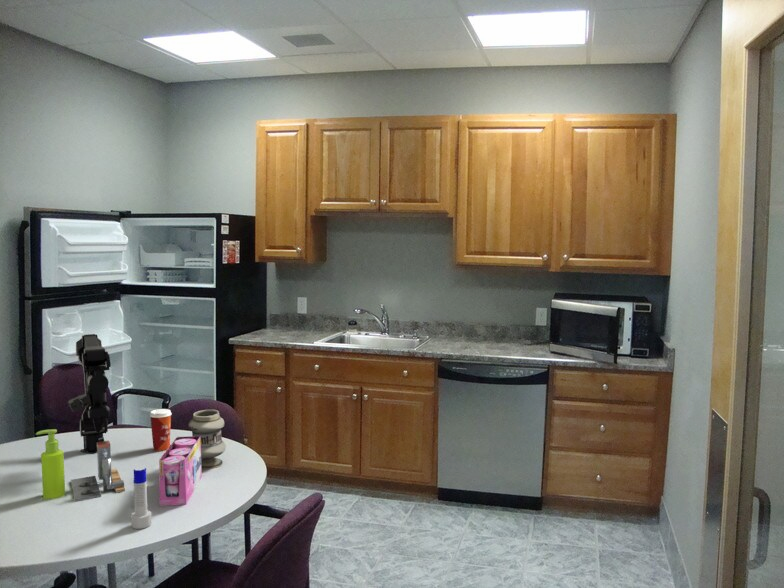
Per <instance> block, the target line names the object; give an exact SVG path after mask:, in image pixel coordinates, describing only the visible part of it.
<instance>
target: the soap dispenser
mask: <svg viewBox="0 0 784 588" xmlns="http://www.w3.org/2000/svg"><path fill="white" fill-rule="evenodd" d="M57 432H58V429H56V428H54V429H42V430H39V431H37V432H36V433H35V435H36V436H40V435H44V434H47V435H48V437H47V438H48V440H46V441H45V444H44V445H45V446H44V447H45V451H43V452H42V453H40V461H41V482H42V498H43V499H45V500H55V499H59V498H62V497H64V496H65V495H66V486H65V485H66V483H65V482H66V481H65V464H64V463H65V460H64V459H65V458H64V450H62V449H59V440H58V439H56V437H55V436H56V435H55V434H57Z"/></svg>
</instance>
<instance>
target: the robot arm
mask: <svg viewBox="0 0 784 588" xmlns="http://www.w3.org/2000/svg"><path fill="white" fill-rule="evenodd" d="M75 356H76V357H77V359H78V362H79V364H80V365H81V366H82V369H83V370H82V371H83V379H84V380H83V381H84V393H83V394H81V395H78V396H75V397H73V398H71V399H69V400H68V401H67V403H68V406H69V408H70V410H71V411H72V412H73V413H74V412H77V411H78V410H80V409H82V408H84V407H85V409H84V410H83V412H82V414H81V419H80V420H79V434H80V438H82V437H83V448H82V449H80V451H79V452H81V453H82V452H83V453H88V454H95V453H97V442H103V441H105V438H104V434H107V433H108V431H109V430H108V429H109V428H108V426H109V424H108V423H109V420H108V419H107V417H110V416H111V409H110V407H109V406H107V405H108V401H107V388H108V386H109V384H110V383H109V379H108V378H107V376H106V371H110V368H111V367H112V365H111V357H110V354H109V352H108V351H106V348H105V347H103V345H102V340H101V338H99V337H98V334H96V333H91V334H89V333H88V334H83V335H81V338H80V339H78V340H77V341H76V342H75Z"/></svg>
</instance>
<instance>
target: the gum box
mask: <svg viewBox="0 0 784 588" xmlns="http://www.w3.org/2000/svg"><path fill="white" fill-rule="evenodd" d="M200 437H201V436H177V437H175V438H174V440H173V441H172V443H170V447H169V448H168V449H167V450H165V452H164V453H163V454H162V455H161V456H160V458H159V461H158V465H159V473H158V475H159V477H158V478H159V481H158V485H159V487H158V488H159V489H158V490H159V491H158V492H159V493H158V494H159V496H158V497H159V501H158V502H159V503H158V504H159V506H181V505H182V506H183V505H185V506H186V505H187V504H188V501H189V500H190V498H191V497H192V495H193V493H194V491H195V489H197V486H198V484H199V483H200V481H201V479H202V477H203V475H202V474H203V473H202V469H201V438H200Z"/></svg>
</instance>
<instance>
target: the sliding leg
mask: <svg viewBox="0 0 784 588" xmlns="http://www.w3.org/2000/svg"><path fill="white" fill-rule="evenodd" d="M96 453H97V454H96V455H97V456H96V457H97V478H98V480H99V481H103V471H102V459H103V458H111V459H112V456H111V442H110V440H104V441H103V442H97V452H96ZM111 478H112V476H111Z"/></svg>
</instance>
